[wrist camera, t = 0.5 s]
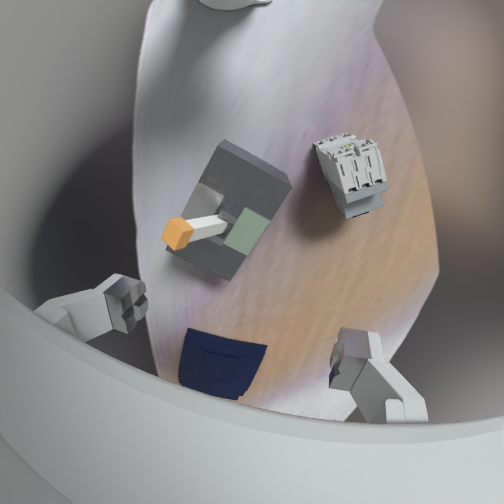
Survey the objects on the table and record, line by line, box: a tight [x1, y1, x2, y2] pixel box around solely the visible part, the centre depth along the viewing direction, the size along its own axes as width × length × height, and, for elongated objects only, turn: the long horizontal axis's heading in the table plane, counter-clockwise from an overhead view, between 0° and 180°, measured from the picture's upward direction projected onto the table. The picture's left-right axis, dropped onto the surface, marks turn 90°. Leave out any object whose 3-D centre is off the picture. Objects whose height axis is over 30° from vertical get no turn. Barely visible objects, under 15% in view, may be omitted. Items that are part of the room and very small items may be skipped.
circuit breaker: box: [313, 133, 388, 219], centre depth 45 cm, size 8×14×15 cm, turn 22°
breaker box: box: [166, 140, 292, 281], centre depth 50 cm, size 22×14×14 cm, turn 150°
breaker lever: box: [161, 215, 230, 251], centre depth 41 cm, size 3×3×14 cm
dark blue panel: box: [178, 328, 267, 400], centre depth 82 cm, size 24×30×4 cm
